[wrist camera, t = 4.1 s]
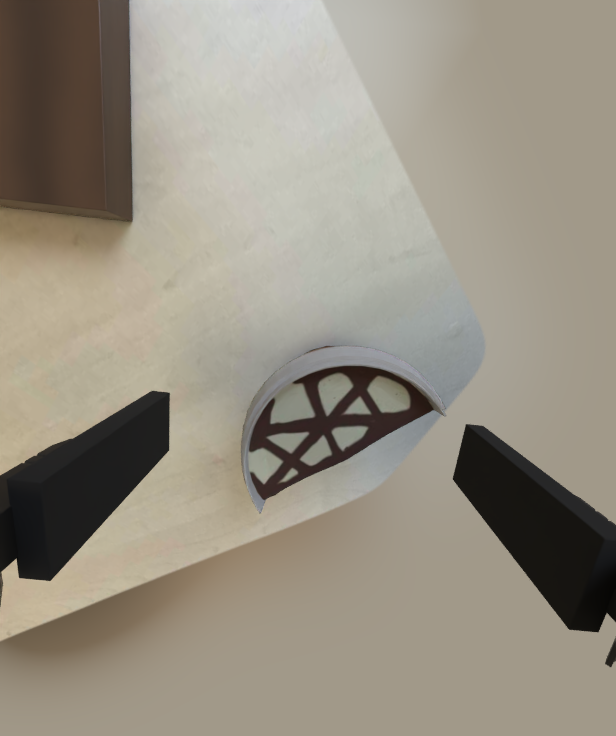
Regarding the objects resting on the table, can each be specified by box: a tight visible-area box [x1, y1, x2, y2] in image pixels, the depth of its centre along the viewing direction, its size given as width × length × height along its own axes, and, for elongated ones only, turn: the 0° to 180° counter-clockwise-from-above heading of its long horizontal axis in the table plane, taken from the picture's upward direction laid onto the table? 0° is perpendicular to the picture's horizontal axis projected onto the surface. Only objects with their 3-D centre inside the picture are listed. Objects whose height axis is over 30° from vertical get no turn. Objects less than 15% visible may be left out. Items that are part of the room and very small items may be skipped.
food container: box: [241, 346, 446, 513], centre depth 21 cm, size 12×6×10 cm, turn 121°
